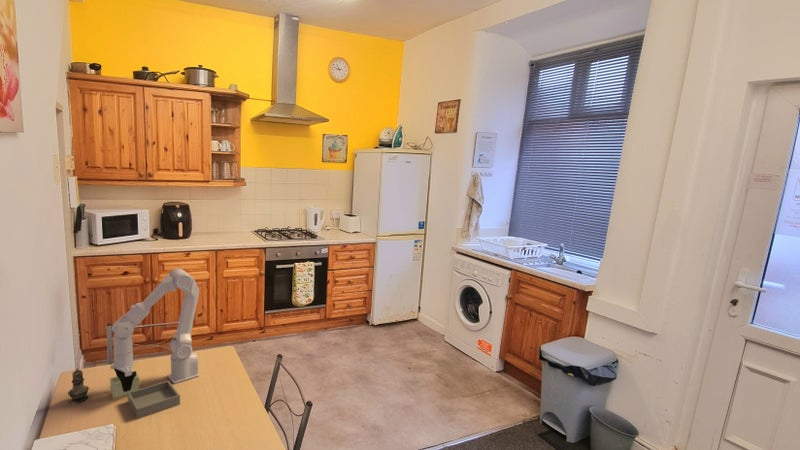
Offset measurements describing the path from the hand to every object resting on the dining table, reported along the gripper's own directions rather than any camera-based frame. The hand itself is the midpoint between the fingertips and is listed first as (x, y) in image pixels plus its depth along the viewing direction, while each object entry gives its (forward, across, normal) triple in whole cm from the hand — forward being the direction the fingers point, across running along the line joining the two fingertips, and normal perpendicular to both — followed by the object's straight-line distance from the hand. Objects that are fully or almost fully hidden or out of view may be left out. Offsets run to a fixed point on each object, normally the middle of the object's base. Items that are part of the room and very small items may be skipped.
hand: (124, 386), depth 150 cm
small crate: (+2, 0, 0) cm, 2 cm away
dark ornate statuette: (+3, -5, -13) cm, 14 cm away
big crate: (+2, +14, +6) cm, 15 cm away
